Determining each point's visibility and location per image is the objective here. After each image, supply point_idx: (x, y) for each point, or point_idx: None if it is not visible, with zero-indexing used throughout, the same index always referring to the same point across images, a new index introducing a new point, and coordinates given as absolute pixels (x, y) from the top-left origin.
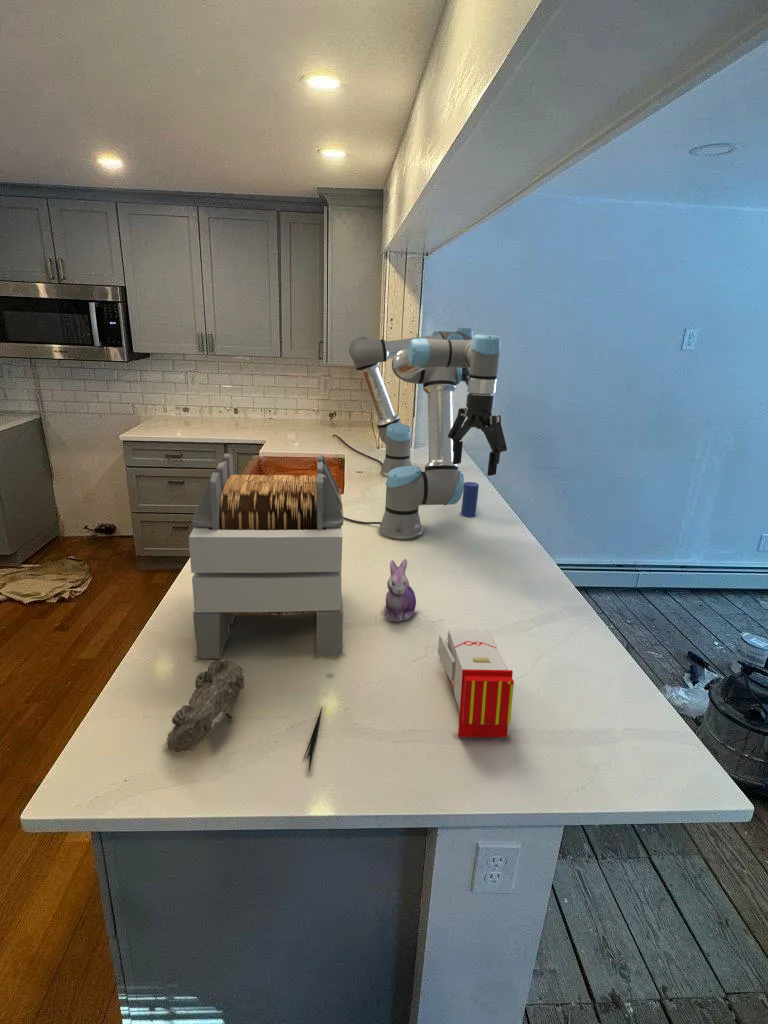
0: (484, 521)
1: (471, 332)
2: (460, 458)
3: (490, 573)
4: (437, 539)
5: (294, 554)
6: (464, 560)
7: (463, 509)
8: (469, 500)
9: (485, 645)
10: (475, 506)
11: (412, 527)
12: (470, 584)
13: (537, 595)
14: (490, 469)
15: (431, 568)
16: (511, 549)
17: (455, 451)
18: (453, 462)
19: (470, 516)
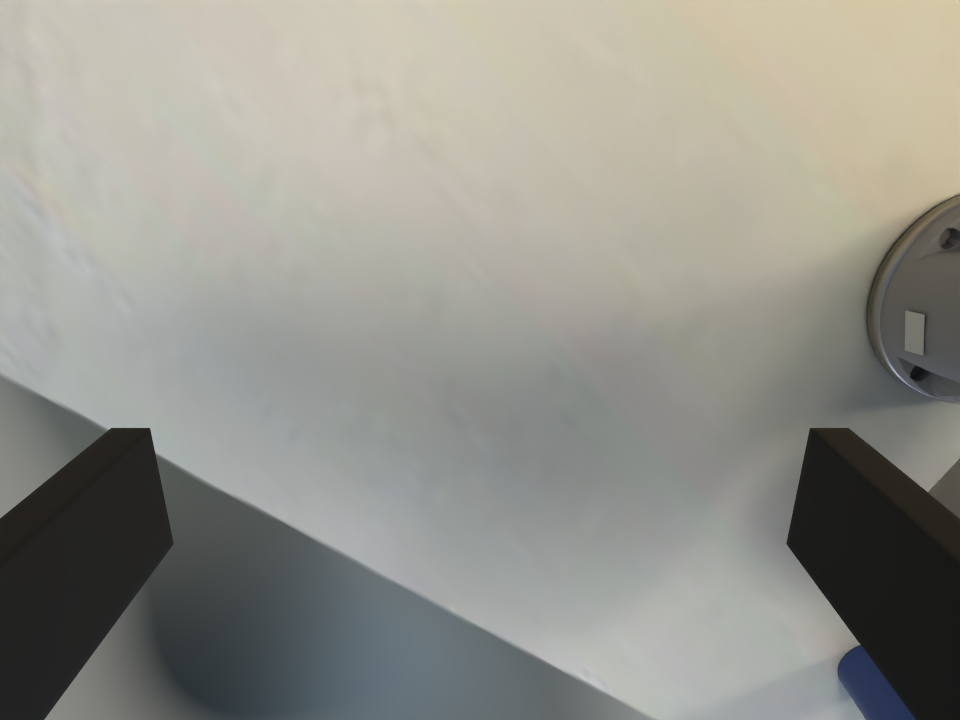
0: (776, 666)
1: None
2: (826, 578)
3: (407, 322)
4: (791, 383)
5: None
6: (560, 323)
7: None
8: (903, 715)
9: None
10: (864, 710)
11: (920, 301)
12: (375, 170)
13: (172, 329)
14: (55, 485)
15: (591, 133)
16: (520, 553)
17: (950, 555)
18: (846, 440)
19: (848, 657)
